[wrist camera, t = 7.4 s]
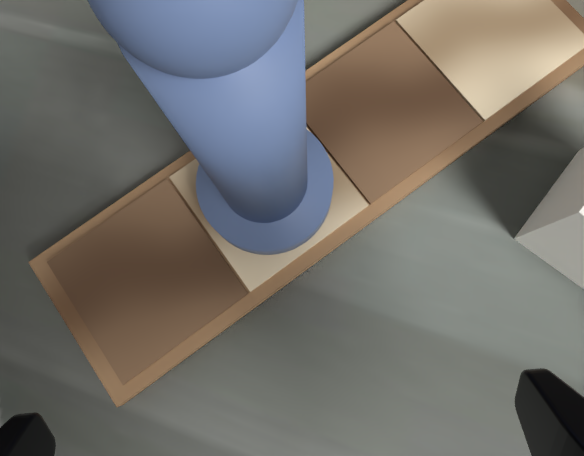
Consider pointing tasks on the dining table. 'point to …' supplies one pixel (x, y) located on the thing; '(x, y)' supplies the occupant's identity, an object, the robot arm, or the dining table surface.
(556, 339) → the dining table surface
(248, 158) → the pawn
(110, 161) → the dining table surface
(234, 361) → the dining table surface
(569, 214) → the white block
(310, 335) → the dining table surface
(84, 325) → the board
